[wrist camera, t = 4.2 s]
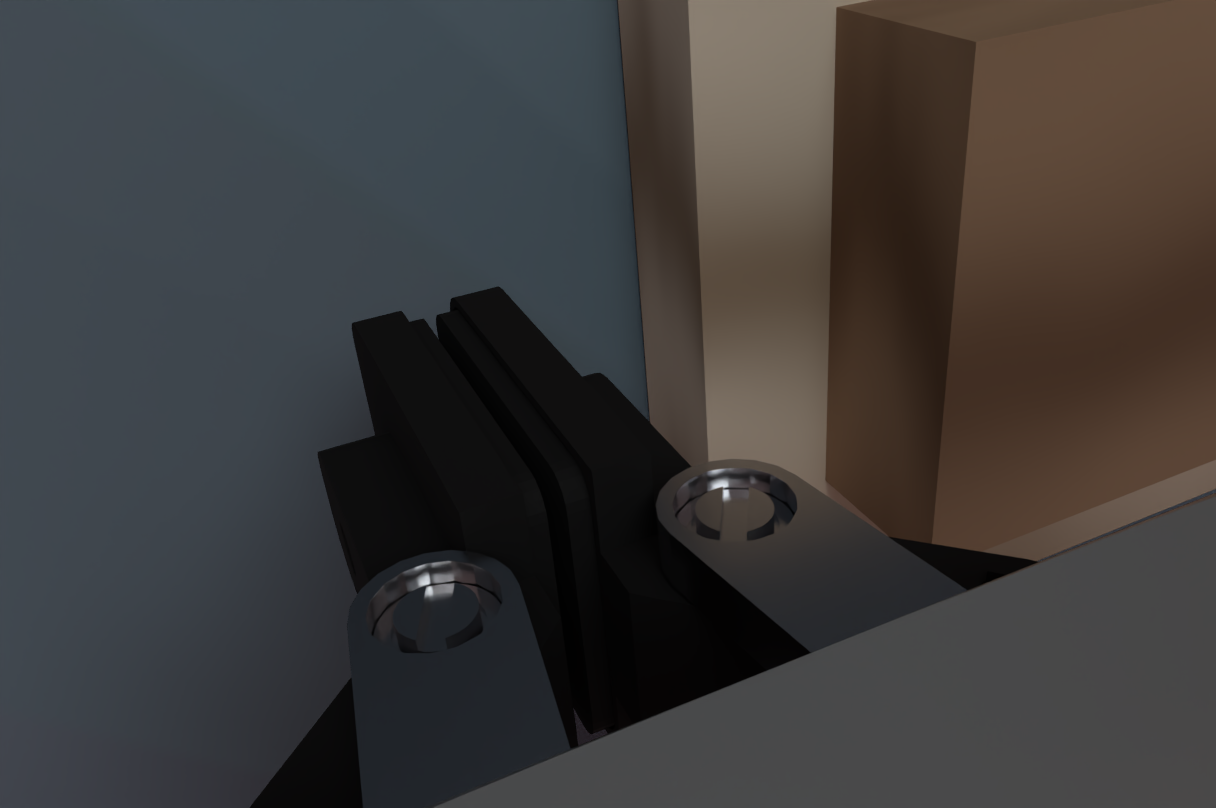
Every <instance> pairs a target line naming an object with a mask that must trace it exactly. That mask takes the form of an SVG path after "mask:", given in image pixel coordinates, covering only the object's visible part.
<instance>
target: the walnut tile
mask: <svg viewBox="0 0 1216 808" xmlns="http://www.w3.org/2000/svg"><path fill="white" fill-rule="evenodd" d="M1214 460H1216V0H871V1H866V2H861V3H855V4H850V5H845V6H839V7H836V44H835V87H834V130H833V173H832V216H831V259H830V303H829V346H828V389H827V432H826V475H825V481H827V482H828V483H829V484H830V485H831V486H832V487H833V488H835V489H836V490H837V491H838V492H839V493H840V494H841V495H842V496H844V497H845V498H846V499H847V500H848V501H849V502H850V503H852V504H853V505H854V506H855V507H856V508H857V509H858V510H859V511H861V512H862V513H863V514H864V515H865V516H866V517H867V518H869V519H870V520H871V521H872V522H873V523H874V524H875V525H877V526H878V527H879V528H880V529H881V530H882V531H883V532H884V533H886V534H887V535H888V536H889V537H894V538H900V539H906V540H913V541H919V542H925V543H931V544H937V545H944V546H950V547H956V548H962V549H968V550H974V551H981V552H982V551H984V550H987V549H989V548H992V547H995V546H997V545H1000V544H1002V543H1005V542H1007V541H1010V540H1012V539H1015V538H1018V537H1020V536H1023V535H1025V534H1028V533H1030V532H1033V531H1035V530H1038V529H1040V528H1043V527H1046V526H1048V525H1051V524H1053V523H1056V522H1058V521H1061V520H1063V519H1066V518H1068V517H1071V516H1074V515H1076V514H1079V513H1081V512H1084V511H1086V510H1089V509H1091V508H1094V507H1097V506H1099V505H1102V504H1104V503H1107V502H1109V501H1112V500H1114V499H1117V498H1119V497H1122V496H1125V495H1127V494H1130V493H1132V492H1135V491H1137V490H1140V489H1142V488H1145V487H1148V486H1150V485H1153V484H1155V483H1158V482H1160V481H1163V480H1165V479H1168V478H1170V477H1173V476H1176V475H1178V474H1181V473H1183V472H1186V471H1188V470H1191V469H1193V468H1196V467H1198V466H1201V465H1204V464H1206V463H1209V462H1211V461H1214Z"/></svg>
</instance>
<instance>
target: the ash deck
mask: <svg viewBox="0 0 1216 808" xmlns="http://www.w3.org/2000/svg"><path fill="white" fill-rule="evenodd" d="M866 1H871V0H618V9H619V22H620V35H621V49H622V62H623V75H624V88H625V101H626V114H627V127H628V140H629V153H630V166H631V179H632V193H633V206H634V219H635V232H636V245H637V258H638V271H639V284H640V297H641V310H642V323H643V337H644V350H645V363H646V376H647V389H648V402H649V415H650V423H651V424H652V425H653V426H654V428H655V429H656V430H657V431H658V432H659V433H660V434H661V435H662V436H663V437H664V438H665V439H666V440H667V441H668V442H669V443H670V444H671V445H672V446H673V448H674V449H675V450H676V451H677V452H678V453H679V454H680V455H681V456H682V457H683V458H684V459H685V460H686V461H687V462H688V463H689V464H690V465H691V466H692V467H693V466H696V465H699V464H703V463H706V462H709V461H717V460H726V459H744V460H757V461H761V462H765V463H769V464H773V465H777V466H779V467H781V468H783V469H785V470H787V471H789V472H791V473H793V474H795V475H797V476H798V477H800V478H801V479H803V480H804V481H806V482H807V483H809V484H810V485H812V486H813V487H815V488H816V489H818V490H819V491H820V492H822V493H823V494H825V495H826V496H828V497H829V498H831V499H832V500H834V501H835V502H837V503H838V504H840V505H841V506H843V507H844V508H846V509H847V510H849V511H850V512H852V513H853V514H855V515H856V516H858V517H859V518H861V519H862V520H864V521H865V522H867V523H868V524H870V525H871V526H873V527H874V528H876V529H877V530H879V531H880V532H882V533H883V534H885V535H886V536H888V535H887V534H886V533H884V532H883V531H882V530H881V529H880V528H879V527H878V526H877V525H875V524H874V523H873V522H872V521H871V520H870V519H869V518H867V517H866V516H865V515H864V514H863V513H862V512H861V511H859V510H858V509H857V508H856V507H855V506H854V505H853V504H852V503H850V502H849V501H848V500H847V499H846V498H845V497H844V496H842V495H841V494H840V493H839V492H838V491H837V490H836V489H835V488H833V487H832V486H831V485H830V484H829V483H828V482H827V481H825V475H826V432H827V389H828V346H829V303H830V259H831V216H832V173H833V130H834V87H835V44H836V7H839V6H845V5H850V4H855V3H861V2H866ZM1214 489H1216V460H1214V461H1211V462H1209V463H1206V464H1204V465H1201V466H1198V467H1196V468H1193V469H1191V470H1188V471H1186V472H1183V473H1181V474H1178V475H1176V476H1173V477H1170V478H1168V479H1165V480H1163V481H1160V482H1158V483H1155V484H1153V485H1150V486H1148V487H1145V488H1142V489H1140V490H1137V491H1135V492H1132V493H1130V494H1127V495H1125V496H1122V497H1119V498H1117V499H1114V500H1112V501H1109V502H1107V503H1104V504H1102V505H1099V506H1097V507H1094V508H1091V509H1089V510H1086V511H1084V512H1081V513H1079V514H1076V515H1074V516H1071V517H1068V518H1066V519H1063V520H1061V521H1058V522H1056V523H1053V524H1051V525H1048V526H1046V527H1043V528H1040V529H1038V530H1035V531H1033V532H1030V533H1028V534H1025V535H1023V536H1020V537H1018V538H1015V539H1012V540H1010V541H1007V542H1005V543H1002V544H1000V545H997V546H995V547H992V548H989V549H987V550H984V551H982V552H987V553H993V554H999V555H1005V556H1012V557H1018V558H1024V559H1029V560H1033V561H1038V560H1040V559H1043V558H1045V557H1048V556H1050V555H1053V554H1055V553H1058V552H1060V551H1063V550H1065V549H1068V548H1070V547H1073V546H1075V545H1078V544H1080V543H1083V542H1085V541H1088V540H1090V539H1092V538H1095V537H1097V536H1100V535H1102V534H1105V533H1107V532H1110V531H1112V530H1115V529H1117V528H1120V527H1122V526H1125V525H1127V524H1130V523H1132V522H1135V521H1137V520H1140V519H1142V518H1145V517H1147V516H1149V515H1152V514H1154V513H1157V512H1159V511H1162V510H1164V509H1167V508H1169V507H1172V506H1174V505H1177V504H1179V503H1182V502H1184V501H1187V500H1189V499H1192V498H1194V497H1197V496H1199V495H1202V494H1204V493H1206V492H1209V491H1211V490H1214ZM888 537H889V536H888Z"/></svg>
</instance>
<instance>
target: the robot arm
mask: <svg viewBox="0 0 1216 808" xmlns="http://www.w3.org/2000/svg"><path fill="white" fill-rule="evenodd" d="M436 326H437V332H438V338H439V340H438V338H437V337H436V335H435V334H434V332H433V331H432V330H431V328H430V327H429V325H428V324H427V322H426V321H425V320H424V319H420V320H416V321H412V322H409V321H408V319H407V318H406V316H405V315H404V313H403V312H402V311H398V312H394V313H390V314H386V315H382V316H378V317H374V318H370V319H366V320H362V321H358V322H354V323H352V332H353V338H354V343H355V348H356V352H357V357H358V361H359V366H360V370H361V374H362V379H363V383H364V388H365V392H366V396H367V401H368V405H369V410H370V414H371V418H372V423H373V427H374V432H375V436H372V437H369V438H365V439H362V440H358V441H355V442H351V443H348V444H344V445H340V446H337V447H333V448H330V449H326V450H323V451H319V452H318V459H319V463H320V468H321V472H322V476H323V480H324V484H325V487H326V491H327V495H328V499H329V503H330V506H331V510H332V514H333V518H334V521H335V525H336V528H337V532H338V535H339V539H340V542H341V546H342V549H343V552H344V555H345V559H346V562H347V565H348V568H349V571H350V574H351V577H352V580H353V583H354V586H355V589H356V592H357V594H358V595H357V596H356V598H355V600H354V601H353V603H352V605H351V606H350V610H349V616H348V623H347V630H348V642H349V653H350V664H351V676H352V677H351V679H350V680H349V681H348V682H347V684H346V685H345V686H344V688H343V689H342V690H341V691H340V693H339V694H338V695H337V697H336V698H335V699H334V700H333V702H332V703H331V704H330V705H329V707H328V708H327V709H326V711H325V712H324V713H323V714H322V716H321V717H320V718H319V720H318V721H317V722H316V723H315V725H314V726H313V727H312V729H311V730H310V731H309V732H308V734H307V735H306V736H305V737H304V739H303V740H302V741H301V743H300V744H299V745H298V746H297V748H296V749H295V750H294V752H293V753H292V754H291V755H290V757H289V758H288V759H287V760H286V762H285V763H284V764H283V766H282V767H281V768H280V769H279V771H278V772H277V773H276V775H275V776H274V777H273V778H272V780H271V781H270V782H269V784H268V785H267V786H266V787H265V789H264V790H263V791H262V792H261V794H260V795H259V796H258V798H257V799H256V800H255V801H254V803H253V804H252V805H251V807H250V808H1216V493H1214V494H1211V495H1209V496H1206V497H1204V498H1201V499H1199V500H1196V501H1193V502H1191V503H1188V504H1186V505H1183V506H1181V507H1178V508H1176V509H1173V510H1170V511H1168V512H1165V513H1163V514H1160V515H1158V516H1155V517H1153V518H1150V519H1148V520H1145V521H1142V522H1140V523H1137V524H1135V525H1132V526H1130V527H1127V528H1125V529H1122V530H1119V531H1117V532H1114V533H1112V534H1109V535H1107V536H1104V537H1102V538H1099V539H1097V540H1094V541H1091V542H1089V543H1086V544H1084V545H1081V546H1079V547H1076V548H1074V549H1071V550H1068V551H1066V552H1063V553H1061V554H1058V555H1056V556H1053V557H1051V558H1048V559H1046V560H1043V561H1040V562H1037V561H1033V560H1029V559H1024V558H1018V557H1012V556H1005V555H999V554H993V553H987V552H981V551H974V550H968V549H962V548H956V547H950V546H944V545H937V544H931V543H925V542H919V541H913V540H906V539H900V538H894V537H888V536H886V535H885V534H883V533H882V532H880V531H879V530H877V529H876V528H874V527H873V526H871V525H870V524H868V523H867V522H865V521H864V520H862V519H861V518H859V517H858V516H856V515H855V514H853V513H852V512H850V511H849V510H847V509H846V508H844V507H843V506H841V505H840V504H838V503H837V502H835V501H834V500H832V499H831V498H829V497H828V496H826V495H825V494H823V493H822V492H820V491H819V490H818V489H816V488H815V487H813V486H812V485H810V484H809V483H807V482H806V481H804V480H803V479H801V478H800V477H798V476H797V475H795V474H793V473H791V472H789V471H787V470H785V469H783V468H781V467H779V466H777V465H773V464H769V463H765V462H761V461H757V460H744V459H726V460H717V461H709V462H706V463H703V464H699V465H696V466H693V467H692V466H691V465H690V464H689V463H688V462H687V461H686V460H685V459H684V458H683V457H682V456H681V455H680V454H679V453H678V452H677V451H676V450H675V449H674V448H673V446H672V445H671V444H670V443H669V442H668V441H667V440H666V439H665V438H664V437H663V436H662V435H661V434H660V433H659V432H658V431H657V430H656V429H655V428H654V426H653V425H652V424H651V423H650V422H649V421H648V420H647V419H646V418H645V417H644V416H643V415H642V414H641V413H640V412H639V411H638V410H637V409H636V408H635V407H634V405H633V404H632V403H631V402H630V401H629V400H628V399H627V398H626V397H625V396H624V395H623V394H622V393H621V392H620V391H619V390H618V389H617V388H616V387H615V386H614V384H613V383H612V382H611V381H610V380H609V379H608V378H607V377H605V376H604V375H603V374H601V373H594V374H590V375H587V376H583V377H582V376H581V375H580V374H579V373H578V372H577V371H576V370H575V369H574V368H573V367H572V365H571V364H570V363H569V362H568V361H567V360H566V359H565V358H564V357H563V356H562V354H561V353H560V352H559V351H558V350H557V349H556V348H555V347H554V346H553V344H552V343H551V342H550V341H549V340H548V339H547V338H546V337H545V336H544V335H543V333H542V332H541V331H540V330H539V329H538V328H537V327H536V326H535V325H534V324H533V322H532V321H531V320H530V319H529V318H528V317H527V316H526V315H525V314H524V313H523V311H522V310H521V309H520V308H519V307H518V306H517V305H516V304H515V303H514V302H513V300H512V299H511V298H510V297H509V296H508V295H507V294H506V293H505V292H504V291H503V289H501V288H500V287H495V288H491V289H487V290H483V291H479V292H475V293H471V294H467V295H462V296H458V297H454V298H452V299H451V302H450V312H447V313H443V314H439V315H437V317H436ZM573 707H574V709H575V711H576V713H577V715H578V716H579V718H580V720H581V722H582V723H583V725H584V727H585V728H586V730H587V731H588V732H589V733H590V734H593V733H596V732H598V731H601V730H603V729H606V731H607V733H608V734H607V735H604V736H602V737H599V738H596V739H594V740H591V741H589V742H586V743H584V744H581V745H579V746H578V741H577V732H576V724H575V717H574V710H573Z"/></svg>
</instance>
